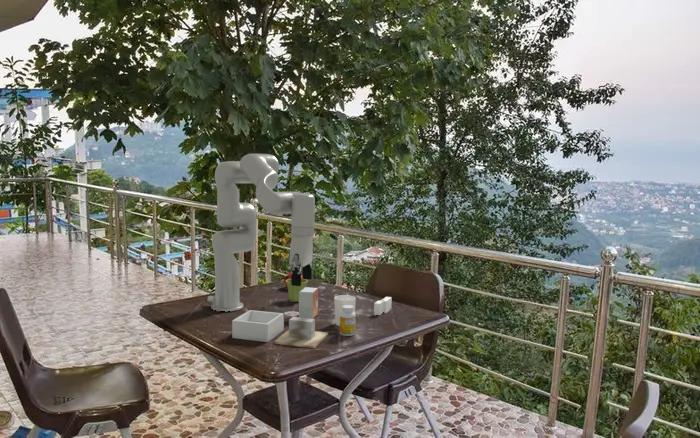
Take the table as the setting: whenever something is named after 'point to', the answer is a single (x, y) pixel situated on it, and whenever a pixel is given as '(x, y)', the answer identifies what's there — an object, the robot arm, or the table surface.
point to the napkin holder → (382, 306)
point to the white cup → (340, 302)
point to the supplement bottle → (347, 320)
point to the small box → (308, 302)
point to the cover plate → (301, 341)
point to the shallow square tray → (258, 325)
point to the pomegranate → (288, 278)
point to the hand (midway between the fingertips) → (301, 282)
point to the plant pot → (295, 289)
